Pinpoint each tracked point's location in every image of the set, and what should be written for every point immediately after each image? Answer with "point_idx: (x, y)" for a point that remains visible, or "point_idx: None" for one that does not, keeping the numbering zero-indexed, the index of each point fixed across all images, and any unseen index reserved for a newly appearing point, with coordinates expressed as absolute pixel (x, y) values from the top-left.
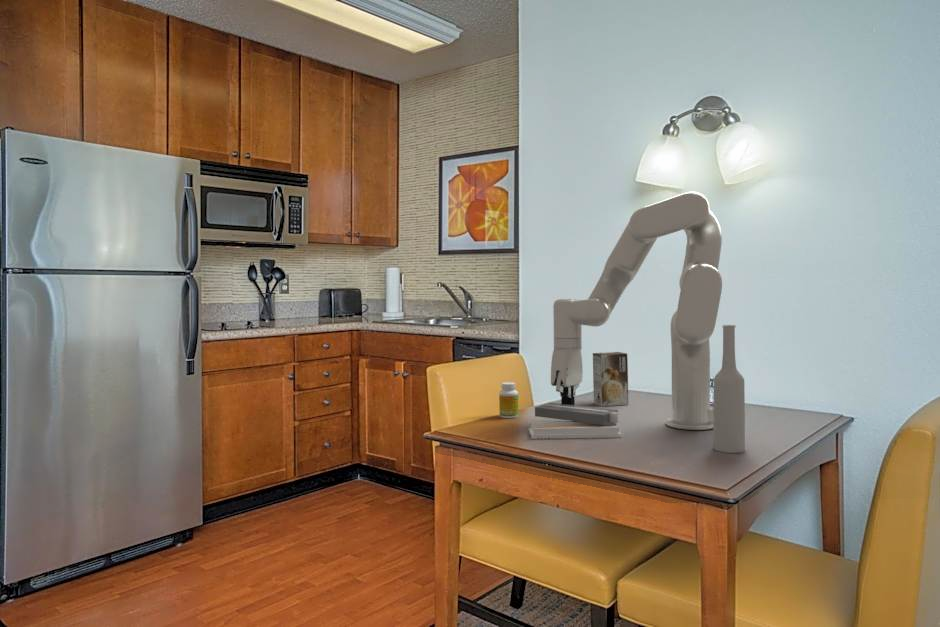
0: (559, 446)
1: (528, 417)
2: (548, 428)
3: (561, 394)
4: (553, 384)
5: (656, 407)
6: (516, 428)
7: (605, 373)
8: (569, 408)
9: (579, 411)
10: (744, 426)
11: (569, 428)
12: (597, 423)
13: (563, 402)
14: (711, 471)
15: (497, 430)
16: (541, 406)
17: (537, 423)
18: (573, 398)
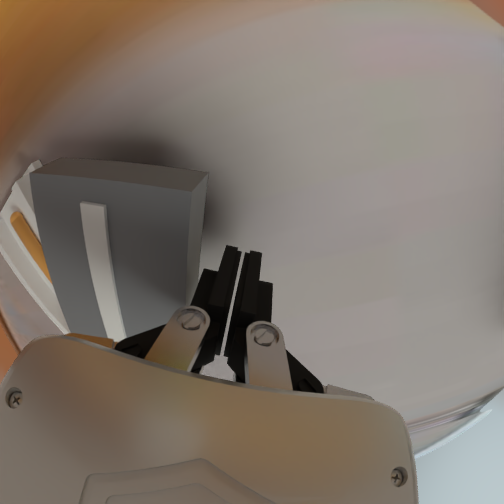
0: (12, 286)
1: (280, 16)
2: (9, 265)
3: (159, 328)
4: (77, 347)
5: (475, 376)
6: (46, 99)
7: None
8: (106, 329)
9: None
10: None
11: (44, 310)
12: None
13: (196, 293)
14: None
15: (13, 70)
16: (58, 194)
17: (23, 207)
18: (228, 355)
